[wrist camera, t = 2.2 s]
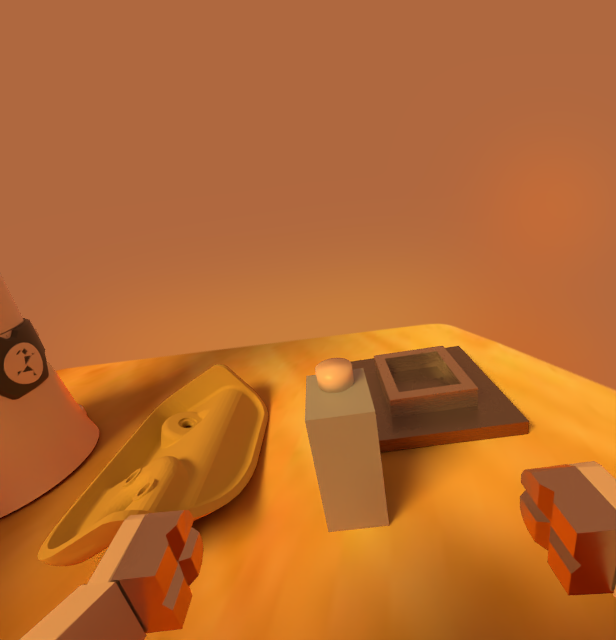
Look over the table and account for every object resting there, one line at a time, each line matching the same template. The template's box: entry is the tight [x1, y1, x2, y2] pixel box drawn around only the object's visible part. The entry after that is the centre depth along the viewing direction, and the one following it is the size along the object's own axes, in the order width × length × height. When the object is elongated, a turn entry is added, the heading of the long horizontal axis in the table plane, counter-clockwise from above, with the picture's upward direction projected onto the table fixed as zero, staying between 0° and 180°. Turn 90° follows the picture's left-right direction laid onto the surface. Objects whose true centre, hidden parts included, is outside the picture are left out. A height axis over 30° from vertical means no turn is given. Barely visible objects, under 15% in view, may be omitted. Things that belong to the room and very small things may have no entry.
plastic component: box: [37, 364, 269, 566], centre depth 28 cm, size 20×7×10 cm
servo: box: [305, 358, 389, 532], centre depth 23 cm, size 4×5×10 cm
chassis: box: [351, 346, 529, 452], centre depth 34 cm, size 13×14×3 cm
